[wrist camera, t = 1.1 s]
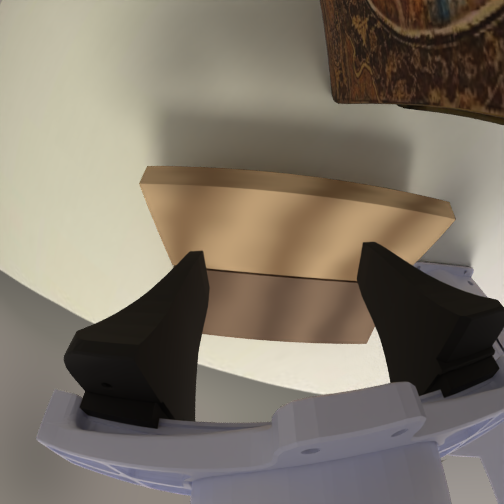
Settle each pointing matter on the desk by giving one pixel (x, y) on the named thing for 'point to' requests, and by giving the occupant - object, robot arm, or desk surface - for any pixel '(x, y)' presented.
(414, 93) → the book
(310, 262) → the oak plank
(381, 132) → the desk surface
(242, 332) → the walnut strip
